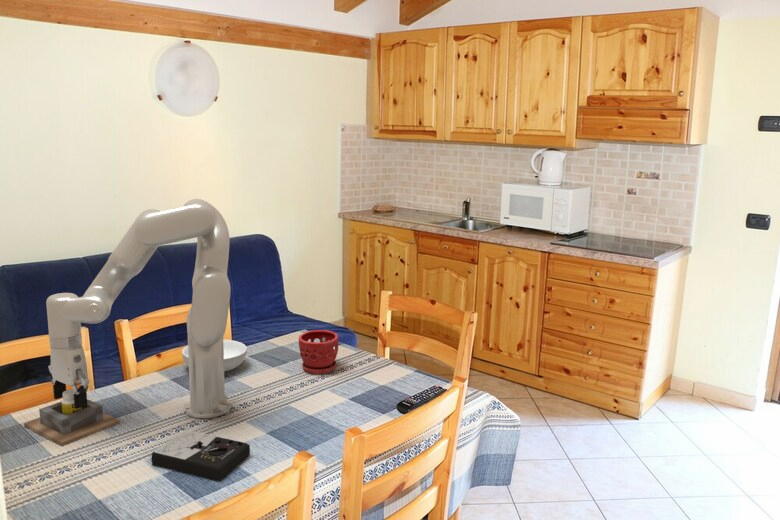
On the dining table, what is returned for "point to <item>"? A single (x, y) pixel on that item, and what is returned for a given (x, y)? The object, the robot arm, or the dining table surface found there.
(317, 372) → the plant pot
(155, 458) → the multimeter
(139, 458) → the dining table surface
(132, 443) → the dining table surface
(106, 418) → the pocket board
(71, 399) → the supplement bottle
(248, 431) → the dining table surface
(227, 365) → the serving bowl
